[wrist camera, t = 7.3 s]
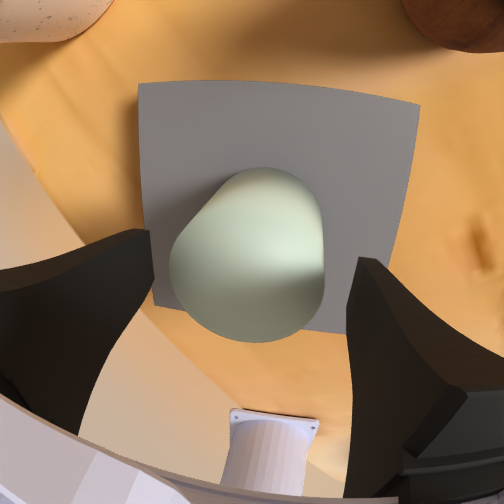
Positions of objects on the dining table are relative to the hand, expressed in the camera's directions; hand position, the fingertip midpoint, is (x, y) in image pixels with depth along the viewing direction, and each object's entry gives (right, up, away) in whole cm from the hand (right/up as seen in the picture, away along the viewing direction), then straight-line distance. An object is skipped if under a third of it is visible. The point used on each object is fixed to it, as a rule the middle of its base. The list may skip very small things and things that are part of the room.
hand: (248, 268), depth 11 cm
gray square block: (+1, +3, +6) cm, 7 cm away
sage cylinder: (+1, +2, +4) cm, 4 cm away
